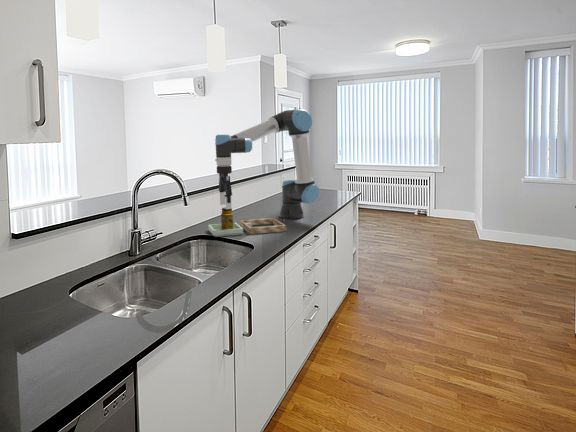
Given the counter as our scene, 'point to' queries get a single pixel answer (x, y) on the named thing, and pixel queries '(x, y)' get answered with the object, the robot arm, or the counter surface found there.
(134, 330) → the counter surface
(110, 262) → the counter surface
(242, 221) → the brown wooden tray
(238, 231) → the green tray
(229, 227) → the condiment
